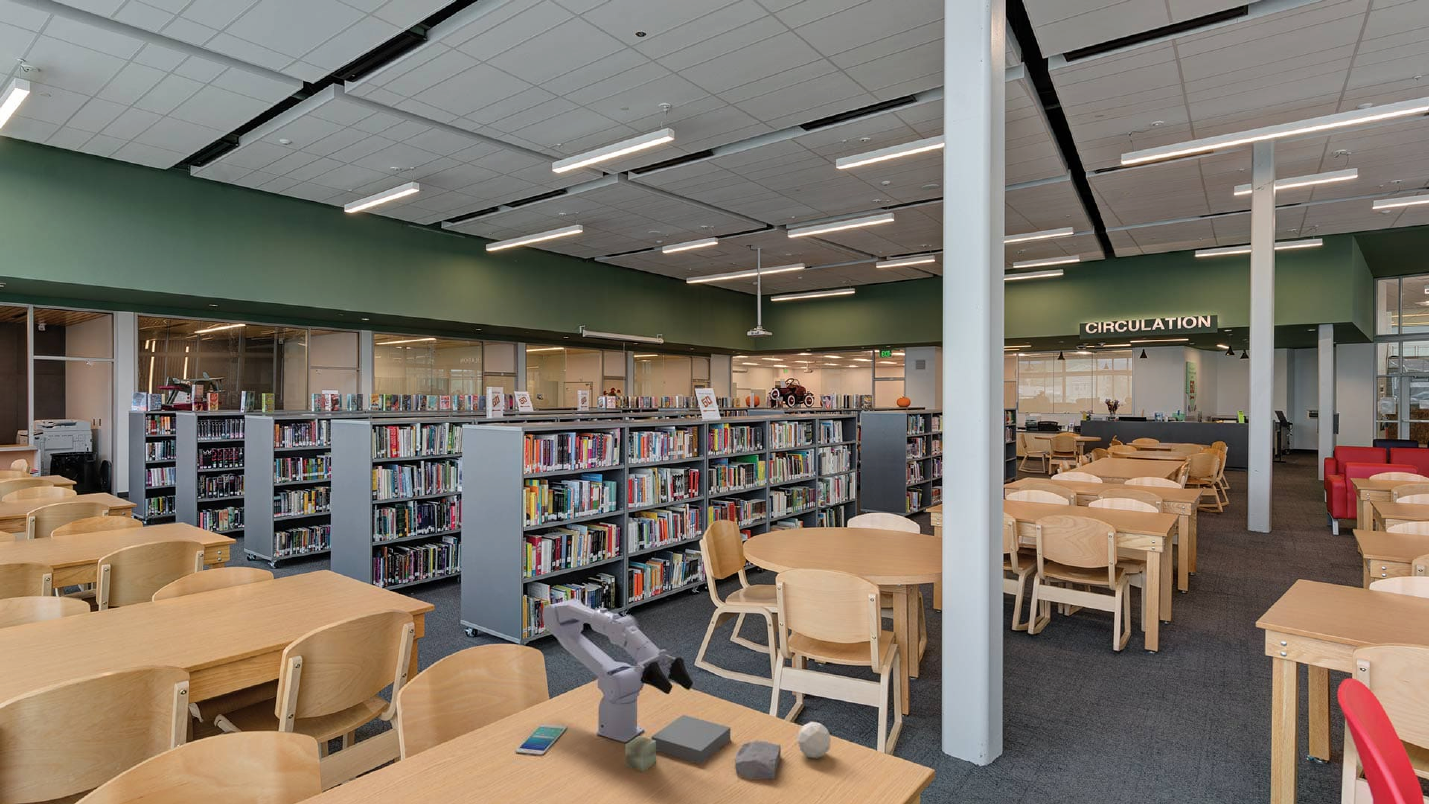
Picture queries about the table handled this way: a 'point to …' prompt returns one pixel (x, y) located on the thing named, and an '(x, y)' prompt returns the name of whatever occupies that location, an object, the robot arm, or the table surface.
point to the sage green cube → (640, 753)
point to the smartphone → (541, 739)
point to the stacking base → (691, 738)
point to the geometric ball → (814, 740)
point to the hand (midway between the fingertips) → (680, 688)
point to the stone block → (758, 760)
